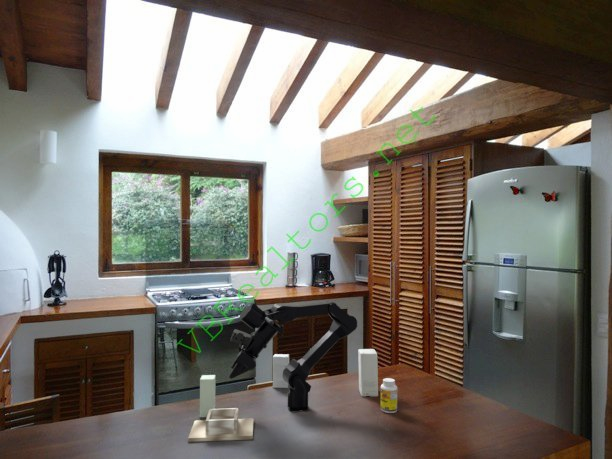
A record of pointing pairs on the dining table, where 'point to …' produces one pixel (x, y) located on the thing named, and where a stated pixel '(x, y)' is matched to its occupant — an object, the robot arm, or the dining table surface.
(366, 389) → the skincare box
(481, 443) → the dining table surface
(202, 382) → the peg
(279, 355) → the skincare box
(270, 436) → the dining table surface
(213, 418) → the holder
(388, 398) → the supplement bottle
